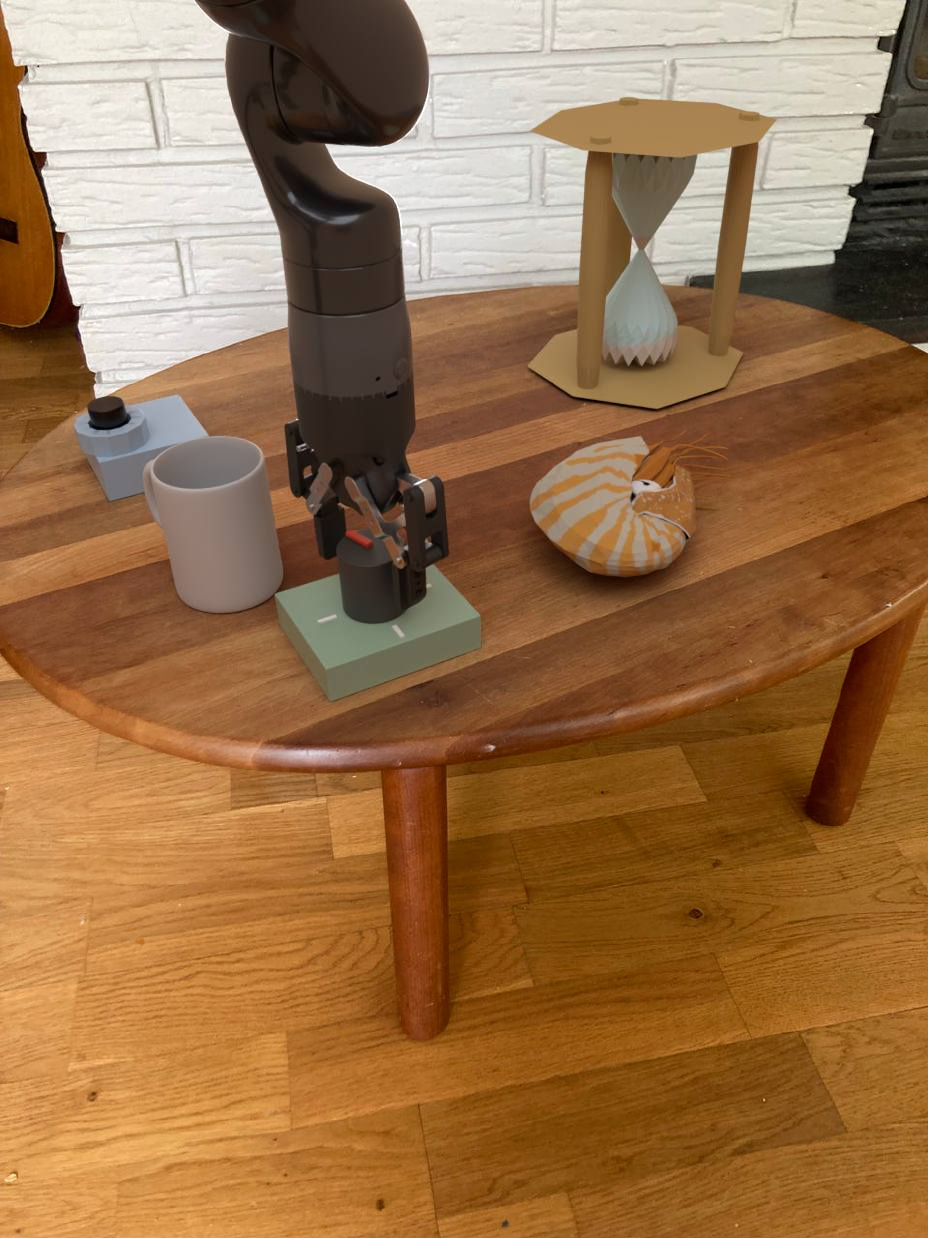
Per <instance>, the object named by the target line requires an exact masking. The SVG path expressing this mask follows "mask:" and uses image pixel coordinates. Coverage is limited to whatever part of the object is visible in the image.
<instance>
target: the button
mask: <svg viewBox="0 0 928 1238" xmlns="http://www.w3.org/2000/svg"><path fill="white" fill-rule="evenodd" d="M125 405H126V403H125V401H124V399H123V398H122V397H120V396H115V395H105V396H100V397H96V398H94V399H92V400H91V401H89V402H88V403H87V404H86V410H87V413H89V417H90V421H91V425H92V428H93V429H95V430H112V429H117V428H121V427H122V426H124V425H126V424H128V422H129V421H128V416H127V412H126V408H125Z"/></svg>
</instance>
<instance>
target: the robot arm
mask: <svg viewBox="0 0 928 1238" xmlns="http://www.w3.org/2000/svg"><path fill="white" fill-rule="evenodd" d="M193 1H194V4H196V5H197V6H198V8H199V9H200V10H201V11H202V12H203V14H205V16H206V17H207V18H208V19H209V20H211V21H212V22H213V23H214V24H215V25H216V26H218V27H219V28H221V29H222V30H224V31H226V32H228V34H227V37H226V38H227V39H226V42H225V52H224V74H225V83H226V87H227V91H228V96H229V101H230V104H231V107H232V111H233V113H234V116H235V119H236V122H237V125H238V127H239V131H240V133H241V136H242V137H243V140H244V142H245V145H246V147H247V151H248V153H249V155H250V158H251V161H252V162H253V165H254V168H255V170H256V174H257V176H258V179H259V181H260V184H261V187H262V189H263V193H264V196H265V198H266V200H267V202H268V205H269V208H270V210H271V213H272V215H273V219H274V220H275V224H276V227H277V230H278V234H279V241H280V251H281V257H282V258H281V259H282V264H283V265H282V267H283V274H284V282H285V289H286V290H285V291H286V298H287V299H286V300H287V342H288V351H289V358H290V367H291V374H292V382H293V393H294V398H295V399H294V400H295V407H296V416H297V418H296V419H294V420H292V421H289V422H287V423H285V424H284V427H283V428H284V439H285V451H286V459H287V469H288V481H289V489H290V492H291V494H292V495H293V496H294V497H295V498H296V499H300V498H303V499H305V506H306V509H307V511H308V512H309V513H310V514H311V515H312V516H313V525H314V532H315V540H316V543H317V551H318V556H320V557H321V558H323V559H324V560H326V561H330V560H332V559H334V558H337V552H336V548H337V545H338V543H339V542H340V540H341V539H342V538H344V537H345V536H346V532H347V531H348V530H347V523H346V512H345V511H346V510H345V507H347V508H352V509H353V510H354V511H355V512H356V513H358V514H359V515H360V516H361V517H363V518H364V520H365V523H366V524H367V526H368V529H370V530H371V532H372V534H373V536H374V537H375V538H377V539H381V540H383V542H384V544H385V546H386V548H387V550H388V552H389V554H390V556H391V558H392V560H393V562H394V563H393V564H392V578H393V592H394V604H395V605H396V606H397V607H399V608H400V609H402V610H406V609H408V608H410V607H412V606H414V605H415V604H417V603H419V602H421V601H422V600H423V599H424V598H425V597H426V594H427V587H426V568H427V567H429V566H431V565H433V564H434V565H435V564H436V563H438V562H440V561H443V560H444V559H447V558H449V555H450V548H449V547H450V546H449V531H448V521H447V508H446V495H445V485H444V482H443V480H442V479H441V477H439V476H438V475H432V476H430V477H428V478H426V479H423V478H420V477H419V476H416V475H415V474H412V470H411V467H410V464H409V462H408V460H407V456H406V455H407V454H406V450H407V447H408V445H409V443H410V441H411V439H412V437H413V435H414V434H415V431H416V427H417V426H416V425H417V423H416V422H417V420H416V403H415V402H416V401H415V381H414V379H415V378H414V360H413V359H414V358H413V336H412V326H411V319H410V315H409V310H408V303H407V298H406V297H407V296H406V281H405V280H406V279H405V263H404V261H405V260H404V244H403V242H404V241H403V227H402V225H403V224H402V218H401V212H400V208H399V206H398V203H397V201H396V200H395V198H394V197H393V196H392V195H391V194H390V193H389V192H388V191H386V190H384V189H382V188H380V187H378V186H376V185H373V184H371V183H369V182H366V181H364V180H361V179H359V178H356V177H354V176H352V175H350V174H348V173H347V172H345V171H344V169H341V168H340V167H339V166H338V164H337V162H336V161H335V160H334V157H333V155H332V154H331V152H330V150H329V148H328V146H327V145H332V146H333V145H335V146H348V147H356V148H371V149H373V148H374V149H375V148H381V147H387V146H391V145H394V144H396V143H398V142H399V141H401V140H402V139H404V138H406V137H407V136H408V135H409V134H410V133H411V132H412V131H413V130H414V128H415V127H416V126H417V124H418V123H419V121H420V119H421V118H422V115H423V113H424V111H425V108H426V105H427V103H428V102H427V101H428V99H429V92H430V82H431V75H430V74H431V73H430V72H431V71H430V61H429V56H428V50H427V46H426V43H425V39H424V37H423V34H422V30H421V28H420V26H419V23H418V21H417V19H416V17H415V15H414V13H413V12H412V10H411V7H410V6H409V5H408V3H407V1H406V0H193ZM308 467H310V471H311V472H310V473H309V474H307V475H305V472H304V471H305V469H307V468H308ZM340 504H341V505H340ZM397 504H399V509H400V510H401V514H400V515H399V516H398V517H395V518H393V519H391V520H389V521H387V520H385V519H384V517H383V516H382V515H384V514H386V513H388V512H390V511H392V510H393V509H394V508H395V507H396V506H397ZM342 505H343V506H342ZM401 529H404V530H405V532H406V541H407V542H406V543H407V545H405V547H403V546H402V544H401V542H400V540H399V537H398V535H399V534H398V531H399V530H401ZM397 534H398V535H397ZM429 537H430V542H429V540H428V538H429Z"/></svg>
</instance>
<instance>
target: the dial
mask: <svg viewBox="0 0 928 1238" xmlns="http://www.w3.org/2000/svg"><path fill="white" fill-rule="evenodd" d="M346 531H347V532H346V536H345V537H344V538H342V539H341V540H340V542H339V543H338V545H337V548H336V552H337V556H336V560H337V568H338V574H339V578H340V587H341V595H342V604H343V609H344V611H345V613H346V614H347V615H348V616H349V617H350V618H352V619H354V620H356V621H359V622H363V623H383V622H387V621H390V620H393V619H395V618H397V617H399V616H400V615H401V614H403V613H404V611H405V610H402V609H400V608H399V607H397V606H396V605H395V604H394V592H393V578H392V564H393V563H394V562H393V560H392V558H391V556H390V554H389V552H388V550H387V548H386V546H385V544H384V542H383V540H381V539H377V538H375V537H374V536H373V534H372V532H371V530H370V528H364V529H360V530H353V529H349V530H346ZM397 535H398V537H399V540H400V542H401V544H402V546H403V547H405V546H406V544H405V541H404V539H403V538H402V537H401V536H400V535H399V534H398V533H397Z"/></svg>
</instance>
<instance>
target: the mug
mask: <svg viewBox="0 0 928 1238" xmlns="http://www.w3.org/2000/svg"><path fill="white" fill-rule="evenodd" d="M143 485H144V491H145V492H144V496H145V500H146V503H147V506H148V509H149V512H150V514H151V516H152V518H153V520H154V522H155V523H156V525H157V526H158V527H159V528H160V529H161V530H162V532H163V536H164V541H165V546H166V549H167V555H168V558H169V563H170V567H171V568H170V569H171V574H172V577H173V583H174V586H175V589H176V594H177V595H178V597H179V598H180V600H181V601H182V602H183V603H184V605H186V606H188V607H190V608H191V609H194V610H197V611H199V612H203V613H207V614H208V613H209V614H231V613H238V612H242V611H246V610H249V609H252V608H255V607H256V606H259V605H261V604H263V603H265V602H266V601H268V600H269V599H270V598H272V597H273V596H275V594H276V593H278V590H279V589H280V587H281V586H282V583H283V581H284V566H283V561H282V555H281V550H280V545H279V539H278V532H277V526H276V520H275V514H274V507H273V500H272V495H271V488H270V482H269V475H268V469H267V463H266V457H265V455H264V452H263V451H262V449H261V448H260V447H259V446H258V445H256V444H255V443H254V442H252V441H249V440H247V439H244V438H240V437H236V436H229V435H228V436H227V435H212V436H211V435H210V436H209V437H202V438H197V439H192V440H188V441H185V442H182V443H179V444H176V445H174V446H172V447H170V448H168V449H167V450H165V451H163V452H162V453H161V454H159V455H158V456H157V457H156V458H155V459H154V460H151V461H150V462H148V463H147V464H146V466H145V468H144V470H143Z"/></svg>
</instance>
